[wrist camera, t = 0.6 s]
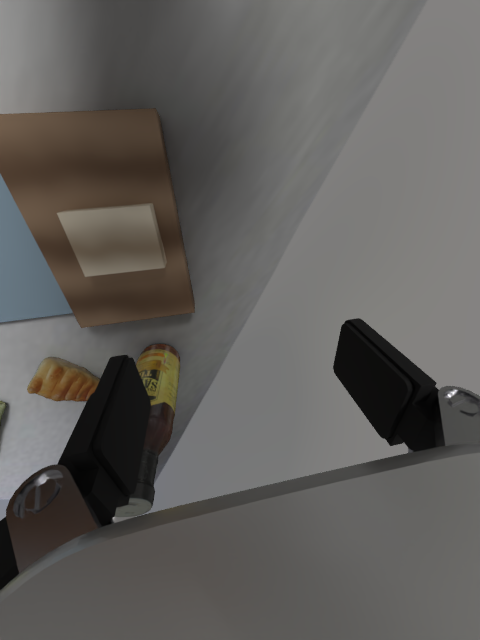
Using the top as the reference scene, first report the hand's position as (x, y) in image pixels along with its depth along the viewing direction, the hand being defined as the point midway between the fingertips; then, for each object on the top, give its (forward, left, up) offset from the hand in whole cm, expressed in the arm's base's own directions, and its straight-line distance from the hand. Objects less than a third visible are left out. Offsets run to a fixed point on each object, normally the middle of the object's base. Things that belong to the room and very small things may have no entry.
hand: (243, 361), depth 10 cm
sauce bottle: (+17, -10, -22) cm, 30 cm away
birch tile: (-2, -9, -19) cm, 21 cm away
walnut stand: (-2, -10, -22) cm, 24 cm away
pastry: (+18, -24, -23) cm, 38 cm away
